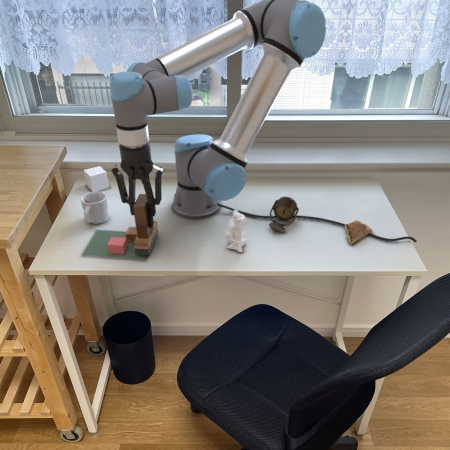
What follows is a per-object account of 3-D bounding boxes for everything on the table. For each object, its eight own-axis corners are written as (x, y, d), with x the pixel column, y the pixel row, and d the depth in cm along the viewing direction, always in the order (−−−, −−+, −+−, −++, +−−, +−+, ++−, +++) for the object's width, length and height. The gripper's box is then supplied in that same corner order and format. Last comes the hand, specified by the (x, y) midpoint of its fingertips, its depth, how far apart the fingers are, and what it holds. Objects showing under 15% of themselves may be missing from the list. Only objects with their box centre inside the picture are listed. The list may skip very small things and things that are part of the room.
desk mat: (154, 234, 133) (154, 233, 133) (144, 260, 124) (144, 258, 123) (97, 231, 135) (97, 230, 134) (82, 256, 125) (82, 254, 125)
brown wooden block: (149, 255, 123) (143, 211, 114) (135, 254, 123) (128, 210, 114) (158, 232, 132) (153, 190, 123) (145, 231, 132) (139, 189, 123)
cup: (101, 232, 134) (96, 209, 129) (77, 229, 135) (71, 206, 130) (114, 214, 142) (110, 192, 137) (91, 212, 143) (86, 189, 138)
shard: (350, 246, 129) (351, 241, 128) (330, 235, 134) (331, 230, 133) (372, 233, 135) (374, 228, 133) (352, 223, 139) (353, 218, 138)
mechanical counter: (310, 205, 136) (286, 188, 140) (286, 217, 129) (261, 199, 132) (302, 224, 141) (279, 207, 145) (278, 236, 134) (254, 218, 137)
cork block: (144, 235, 132) (143, 227, 130) (141, 243, 129) (140, 234, 127) (130, 235, 133) (128, 226, 131) (126, 242, 130) (125, 233, 128)
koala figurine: (248, 254, 126) (250, 217, 118) (225, 255, 126) (225, 218, 118) (245, 238, 132) (247, 202, 124) (223, 238, 132) (223, 203, 124)
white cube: (109, 188, 156) (106, 172, 152) (93, 192, 154) (90, 176, 150) (102, 181, 160) (99, 165, 156) (86, 185, 157) (83, 170, 153)
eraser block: (128, 246, 128) (126, 237, 126) (124, 254, 125) (122, 245, 123) (112, 245, 128) (111, 236, 126) (108, 253, 125) (107, 244, 123)
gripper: (169, 138, 110) (175, 219, 126) (106, 135, 111) (120, 216, 127) (163, 150, 105) (170, 233, 120) (97, 147, 106) (113, 230, 121)
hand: (144, 224), depth 124 cm, fingers closed on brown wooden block, 3 cm apart
